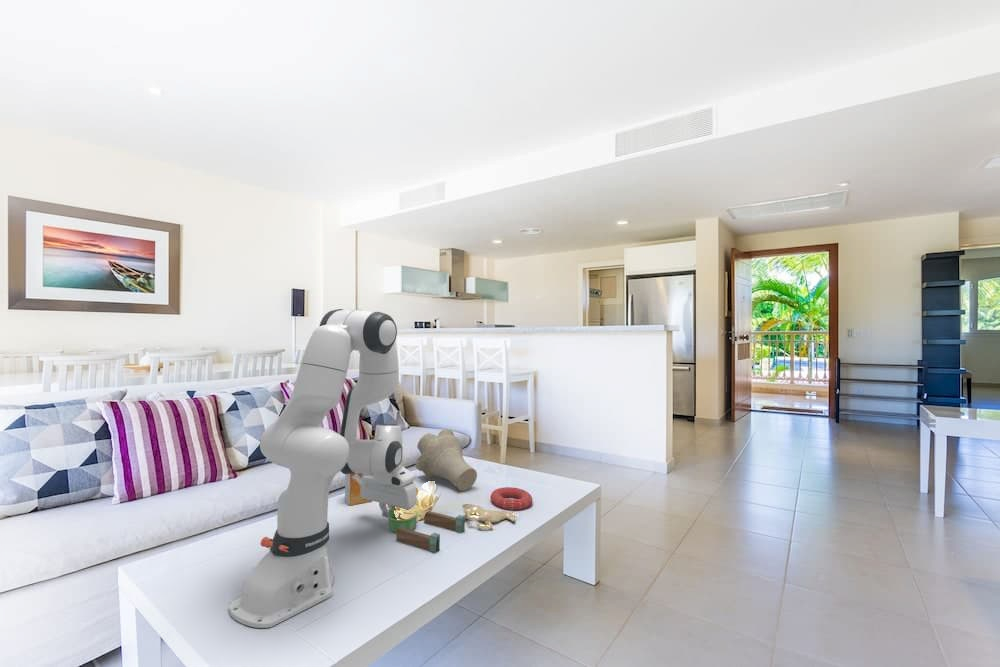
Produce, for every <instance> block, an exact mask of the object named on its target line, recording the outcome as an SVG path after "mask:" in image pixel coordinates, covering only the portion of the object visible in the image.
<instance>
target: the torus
mask: <svg viewBox="0 0 1000 667" xmlns="http://www.w3.org/2000/svg"><path fill="white" fill-rule="evenodd" d="M490 501H491V503H492V504H493V505H495V506H496V507H498V508H500V509H504V510H506V511H507V510H509V511H522V510H525V509H528V508H529V507H531V505H532V504H533V497H532V495H531V493H529V492H528V491H526V490H524V489H522V488H517V487H511V486H506V487H505V486H504V487H498V488H496V489H494V490H493V491H492V492H491V494H490Z"/></svg>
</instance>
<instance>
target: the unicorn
mask: <svg viewBox="0 0 1000 667" xmlns="http://www.w3.org/2000/svg"><path fill="white" fill-rule="evenodd" d="M461 507H462V508H463V509H464V511H463V515H462V516H465V520H469V521H477V522H482V523H483V524H482V523H476V527H477V528H478V529H480V530H492V529H493V527H494V525H493V524H496V523H499V522H501V521H503V520H507V519H508V520H509V521H511V522H515V521H516V517H521V515H519V514H518V515H515V511H513V512H510V511H507V510H490V509H486V508H483V507H481V506H480V505H476V504H471V503H463V504H461Z"/></svg>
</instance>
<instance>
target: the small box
mask: <svg viewBox="0 0 1000 667" xmlns="http://www.w3.org/2000/svg"><path fill="white" fill-rule="evenodd" d="M362 474H363V473H356V474H344V476H345V481H344V500H345V502H346V503H347V504H348V506H354V505H359V504H364V503H365V504H366V503H372V502H373V501H371V500H367V499H363V498H362V497H361V495H360V488H361V482H362Z"/></svg>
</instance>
